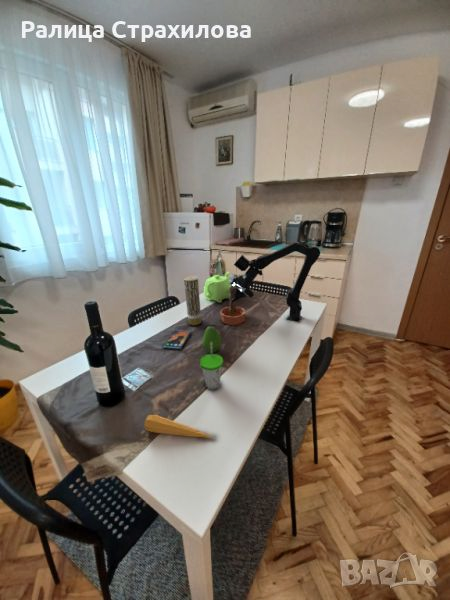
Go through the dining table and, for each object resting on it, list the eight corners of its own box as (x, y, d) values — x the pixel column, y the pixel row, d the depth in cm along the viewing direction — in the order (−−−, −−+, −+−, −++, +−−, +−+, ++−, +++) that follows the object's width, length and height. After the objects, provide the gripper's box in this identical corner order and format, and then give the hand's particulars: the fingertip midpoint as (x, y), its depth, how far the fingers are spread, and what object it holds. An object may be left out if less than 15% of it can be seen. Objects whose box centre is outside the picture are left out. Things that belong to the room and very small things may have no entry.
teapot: (226, 308, 142) (225, 283, 136) (198, 301, 153) (196, 278, 147) (246, 295, 161) (246, 272, 155) (220, 290, 173) (219, 268, 166)
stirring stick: (231, 310, 129) (231, 285, 124) (238, 311, 127) (238, 287, 122) (227, 313, 126) (226, 288, 121) (234, 314, 124) (233, 289, 118)
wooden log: (186, 324, 125) (181, 279, 115) (192, 319, 130) (188, 275, 121) (197, 326, 122) (193, 280, 113) (203, 321, 128) (200, 276, 118)
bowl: (229, 312, 137) (229, 304, 135) (249, 318, 130) (249, 309, 128) (215, 321, 127) (215, 313, 125) (236, 328, 120) (236, 319, 118)
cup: (215, 396, 78) (213, 358, 72) (197, 387, 82) (193, 351, 76) (228, 382, 84) (227, 346, 78) (210, 374, 88) (207, 339, 82)
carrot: (144, 432, 67) (140, 427, 64) (151, 415, 70) (147, 410, 67) (212, 449, 64) (212, 445, 61) (216, 431, 67) (216, 426, 64)
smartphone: (162, 346, 104) (175, 329, 118) (163, 349, 105) (175, 331, 118) (180, 347, 103) (191, 329, 116) (180, 350, 103) (191, 332, 117)
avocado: (207, 358, 97) (205, 332, 92) (200, 348, 104) (198, 324, 99) (224, 353, 100) (223, 328, 96) (217, 344, 107) (216, 320, 102)
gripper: (230, 264, 127) (212, 287, 127) (248, 272, 111) (228, 298, 111) (243, 276, 133) (226, 298, 133) (262, 285, 117) (242, 310, 117)
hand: (230, 300), depth 123 cm, fingers closed on stirring stick, 3 cm apart
